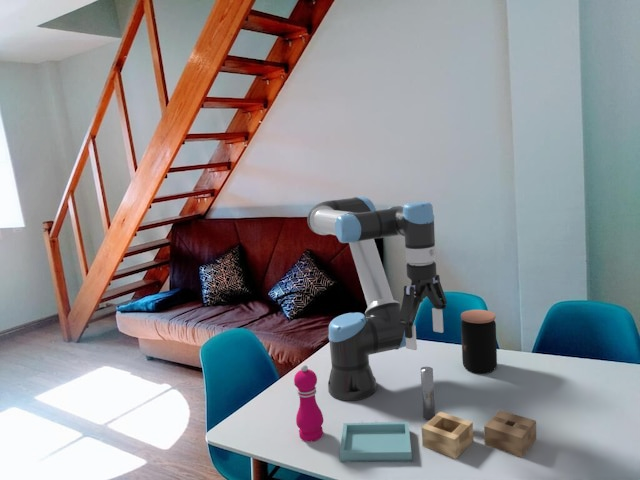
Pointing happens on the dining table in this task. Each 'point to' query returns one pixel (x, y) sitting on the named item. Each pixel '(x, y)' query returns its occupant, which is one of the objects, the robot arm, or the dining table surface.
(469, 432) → the oak block wide bore
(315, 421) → the pepper mill
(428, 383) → the cylinder
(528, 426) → the walnut block narrow bore
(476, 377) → the dining table surface
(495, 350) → the coffee jar
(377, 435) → the teal tray
